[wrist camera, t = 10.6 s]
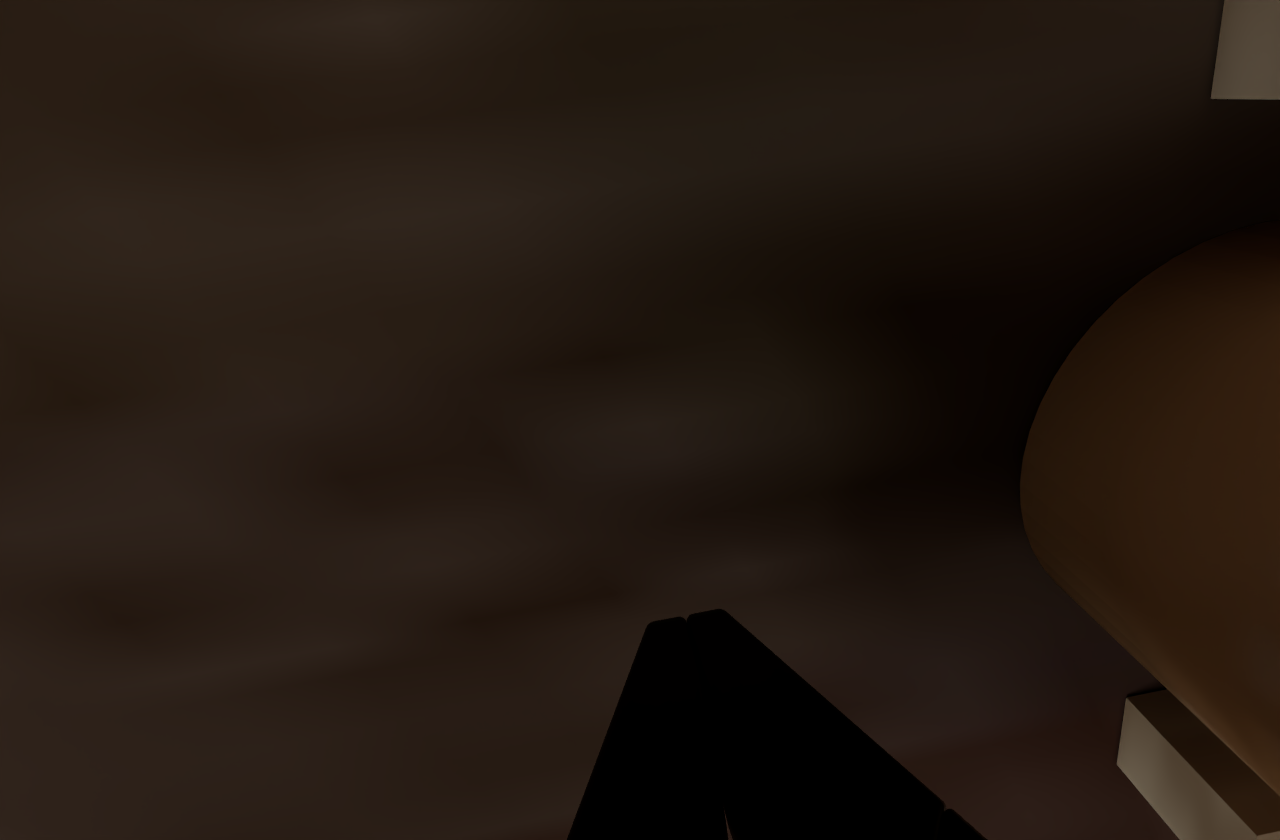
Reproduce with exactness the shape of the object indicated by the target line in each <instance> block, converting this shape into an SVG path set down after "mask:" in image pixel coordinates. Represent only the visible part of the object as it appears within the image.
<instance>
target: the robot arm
mask: <svg viewBox="0 0 1280 840" xmlns="http://www.w3.org/2000/svg"><path fill="white" fill-rule="evenodd" d="M724 810H725V813H724ZM725 814H726V818H727V822H728V826H729V830H730V833H731V836H732V839H733V840H987V839H986V838H985V837H983V836H982V835H981V834H980V833H979V832H978V831H977V830H976V829H974V828H973V827H972V826H971V825H970V824H969V823H968V822H967V821H965V820H964V819H963V818H962V817H961V816H960V815H959V814H957V813H956V812H955V811H954V810H953V809H947V810H946V805H945V803H944V802H943V801H942V800H941V799H940V798H939V797H938V796H936V795H935V794H934V793H933V792H932V791H931V790H930V789H928V788H927V787H926V786H925V785H924V784H923V783H922V782H920V781H919V780H918V779H917V778H916V777H915V776H914V775H912V774H911V773H910V772H909V771H908V770H907V769H906V768H904V767H903V766H902V765H901V764H900V763H899V762H898V761H896V760H895V759H894V758H893V757H892V756H891V755H890V754H888V753H887V752H886V751H885V750H884V749H883V748H882V747H880V746H879V745H878V744H877V743H876V742H875V741H874V740H872V739H871V738H870V737H869V736H868V735H867V734H866V733H864V732H863V731H862V730H861V729H860V728H859V727H858V726H856V725H855V724H854V723H853V722H852V721H851V720H850V719H848V718H847V717H846V716H845V715H844V714H843V713H842V712H840V711H839V710H838V709H837V708H836V707H835V706H834V705H832V704H831V703H830V702H829V701H828V700H827V699H826V698H824V697H823V696H822V695H821V694H820V693H819V692H818V691H816V690H815V689H814V688H813V687H812V686H811V685H810V684H808V683H807V682H806V681H805V680H804V679H803V678H802V677H800V676H799V675H798V674H797V673H796V672H795V671H794V670H792V669H791V668H790V667H789V666H788V665H787V664H786V663H784V662H783V661H782V660H781V659H780V658H779V657H778V656H776V655H775V654H774V653H773V652H772V651H771V650H770V649H768V648H767V647H766V646H765V645H764V644H763V643H762V642H760V641H759V640H758V639H757V638H756V637H755V636H754V635H752V634H751V633H750V632H749V631H748V630H747V629H746V628H744V627H743V626H742V625H741V624H740V623H739V622H738V621H736V620H735V619H734V618H733V617H732V616H731V615H730V614H728V613H727V612H726V611H725V610H722V609H715V610H710V611H705V612H700V613H694V614H691V615H689V616H688V618H687V622H686V620H685V619H684V618H683V617H674V618H669V619H664V620H658V621H653V622H651V623H649V624H648V625H647V627H646V629H645V632H644V635H643V637H642V640H641V643H640V645H639V648H638V651H637V653H636V656H635V659H634V661H633V664H632V667H631V670H630V672H629V675H628V678H627V680H626V683H625V686H624V688H623V691H622V694H621V696H620V699H619V702H618V704H617V707H616V710H615V712H614V715H613V718H612V720H611V723H610V726H609V728H608V731H607V734H606V736H605V739H604V742H603V744H602V747H601V750H600V752H599V755H598V758H597V760H596V763H595V766H594V768H593V771H592V774H591V776H590V779H589V782H588V784H587V787H586V790H585V792H584V795H583V798H582V800H581V803H580V806H579V808H578V811H577V814H576V816H575V819H574V822H573V824H572V827H571V830H570V833H569V835H568V838H567V840H728V833H727V826H726V819H725Z"/></svg>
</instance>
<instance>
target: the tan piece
mask: <svg viewBox="0 0 1280 840" xmlns="http://www.w3.org/2000/svg"><path fill="white" fill-rule="evenodd" d="M1211 99H1265V100H1280V0H1225V1H1224V8H1223V15H1222V22H1221V29H1220V36H1219V43H1218V50H1217V57H1216V64H1215V72H1214V79H1213V86H1212V93H1211ZM1117 765H1118V766H1119V768H1120V769H1121V770H1122V771H1123V772H1124V774H1125V775H1126V776H1127V777H1128V778H1129V779H1130V781H1131V782H1132V783H1133V784H1134V785H1135V787H1136V788H1137V789H1138V790H1139V791H1140V793H1141V794H1142V795H1143V796H1144V797H1145V799H1146V800H1147V801H1148V802H1149V803H1150V805H1151V806H1152V807H1153V808H1154V809H1155V811H1156V812H1157V813H1158V814H1159V815H1160V817H1161V818H1162V819H1163V820H1164V821H1165V823H1166V824H1167V825H1168V826H1169V827H1170V828H1171V830H1172V831H1173V832H1174V833H1175V834H1176V836H1177V837H1178V838H1179V839H1180V840H1280V796H1279V795H1278V794H1277V793H1276V792H1275V791H1274V790H1273V789H1272V788H1271V787H1270V786H1268V785H1267V784H1266V783H1265V782H1264V781H1263V780H1262V779H1261V778H1260V777H1259V776H1258V775H1257V774H1256V773H1255V772H1254V771H1253V770H1252V769H1251V768H1250V767H1249V766H1247V765H1246V764H1245V763H1244V762H1243V761H1242V760H1241V759H1240V758H1239V757H1238V756H1237V755H1236V754H1235V753H1234V752H1233V751H1232V750H1231V749H1230V748H1229V747H1228V746H1226V745H1225V744H1224V743H1223V742H1222V741H1221V740H1220V739H1219V738H1218V737H1217V736H1216V735H1215V734H1214V733H1213V732H1212V731H1211V730H1210V729H1209V728H1208V727H1207V726H1205V725H1204V724H1203V723H1202V722H1201V721H1200V720H1199V719H1198V718H1197V717H1196V716H1195V715H1194V714H1193V713H1192V712H1191V711H1190V710H1189V709H1188V708H1187V707H1186V706H1184V705H1183V704H1182V703H1181V702H1180V701H1179V700H1178V699H1177V698H1176V697H1175V696H1174V695H1173V694H1172V693H1171V692H1170V691H1169V690H1168V689H1166V690H1161V691H1156V692H1151V693H1146V694H1141V695H1136V696H1131V697H1126V703H1125V710H1124V717H1123V724H1122V731H1121V738H1120V745H1119V753H1118V760H1117Z"/></svg>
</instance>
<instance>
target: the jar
mask: <svg viewBox="0 0 1280 840" xmlns="http://www.w3.org/2000/svg"><path fill="white" fill-rule="evenodd" d="M1020 503H1021V512H1022V518H1023V523H1024V528H1025V532H1026V534H1027V537H1028V540H1029V543H1030V545H1031V548H1032V550H1033V552H1034V554H1035V556H1036V557H1037V559H1038V561H1039V562H1040V564H1041V566H1042V567H1043V569H1044V570H1045V571H1046V572H1047V573H1048V574H1049V576H1050V577H1051V578H1052V579H1053V580H1054V581H1055V583H1056V584H1057V585H1058V586H1060V587H1061V588H1062V589H1063V590H1064V591H1065V592H1066V593H1067V594H1068V595H1069V596H1070V597H1071V598H1072V599H1073V600H1074V601H1075V602H1076V603H1077V604H1078V605H1079V606H1081V607H1082V608H1083V609H1084V610H1085V611H1086V612H1087V613H1088V614H1089V615H1090V616H1091V617H1092V618H1093V619H1094V620H1095V621H1096V622H1097V623H1098V624H1099V625H1100V626H1102V627H1103V628H1104V629H1105V630H1106V631H1107V632H1108V633H1109V634H1110V635H1111V636H1112V637H1113V638H1114V639H1115V640H1116V641H1117V642H1118V643H1119V644H1120V645H1121V646H1123V647H1124V648H1125V649H1126V650H1127V651H1128V652H1129V653H1130V654H1131V655H1132V656H1133V657H1134V658H1135V659H1136V660H1137V661H1138V662H1139V663H1140V664H1141V665H1142V666H1144V667H1145V668H1146V669H1147V670H1148V671H1149V672H1150V673H1151V674H1152V675H1153V676H1154V677H1155V678H1156V679H1157V680H1158V681H1159V682H1160V683H1161V684H1162V685H1163V686H1165V687H1166V688H1167V689H1168V690H1169V691H1170V692H1171V693H1172V694H1173V695H1174V696H1175V697H1176V698H1177V699H1178V700H1179V701H1180V702H1181V703H1182V704H1183V705H1184V706H1186V707H1187V708H1188V709H1189V710H1190V711H1191V712H1192V713H1193V714H1194V715H1195V716H1196V717H1197V718H1198V719H1199V720H1200V721H1201V722H1202V723H1203V724H1204V725H1205V726H1207V727H1208V728H1209V729H1210V730H1211V731H1212V732H1213V733H1214V734H1215V735H1216V736H1217V737H1218V738H1219V739H1220V740H1221V741H1222V742H1223V743H1224V744H1225V745H1226V746H1228V747H1229V748H1230V749H1231V750H1232V751H1233V752H1234V753H1235V754H1236V755H1237V756H1238V757H1239V758H1240V759H1241V760H1242V761H1243V762H1244V763H1245V764H1246V765H1247V766H1249V767H1250V768H1251V769H1252V770H1253V771H1254V772H1255V773H1256V774H1257V775H1258V776H1259V777H1260V778H1261V779H1262V780H1263V781H1264V782H1265V783H1266V784H1267V785H1268V786H1270V787H1271V788H1272V789H1273V790H1274V791H1275V792H1276V793H1277V794H1278V795H1279V796H1280V220H1276V221H1268V222H1263V223H1259V224H1255V225H1251V226H1247V227H1244V228H1240V229H1236V230H1233V231H1230V232H1228V233H1225V234H1223V235H1220V236H1218V237H1215V238H1213V239H1210V240H1207V241H1205V242H1203V243H1201V244H1199V245H1197V246H1195V247H1193V248H1191V249H1189V250H1187V251H1186V252H1184V253H1182V254H1180V255H1178V256H1176V257H1174V258H1172V259H1171V260H1169V261H1168V262H1166V263H1165V264H1163V265H1162V266H1160V267H1159V268H1157V269H1156V270H1154V271H1153V272H1151V273H1150V274H1148V275H1147V276H1145V277H1144V278H1143V279H1142V280H1140V281H1139V282H1138V283H1137V284H1136V285H1134V286H1133V287H1132V288H1131V289H1129V290H1128V291H1127V292H1126V293H1125V294H1123V295H1122V296H1121V297H1120V298H1119V299H1117V300H1116V301H1115V302H1114V303H1113V304H1112V305H1111V306H1110V307H1109V308H1108V309H1107V310H1106V311H1105V312H1104V313H1103V314H1102V315H1101V316H1100V317H1099V318H1098V319H1097V320H1096V321H1095V322H1094V323H1093V325H1092V326H1091V327H1090V328H1089V330H1088V331H1087V332H1086V333H1085V334H1084V336H1083V337H1082V338H1081V339H1080V341H1079V342H1078V343H1077V344H1076V345H1075V347H1074V348H1073V349H1072V350H1071V352H1070V354H1069V355H1068V357H1067V358H1066V360H1065V361H1064V363H1063V364H1062V366H1061V367H1060V369H1059V370H1058V372H1057V373H1056V375H1055V376H1054V378H1053V380H1052V382H1051V384H1050V386H1049V388H1048V390H1047V392H1046V393H1045V395H1044V397H1043V399H1042V401H1041V403H1040V405H1039V408H1038V411H1037V413H1036V416H1035V418H1034V421H1033V424H1032V426H1031V429H1030V432H1029V436H1028V440H1027V444H1026V447H1025V451H1024V455H1023V461H1022V470H1021V479H1020Z"/></svg>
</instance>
